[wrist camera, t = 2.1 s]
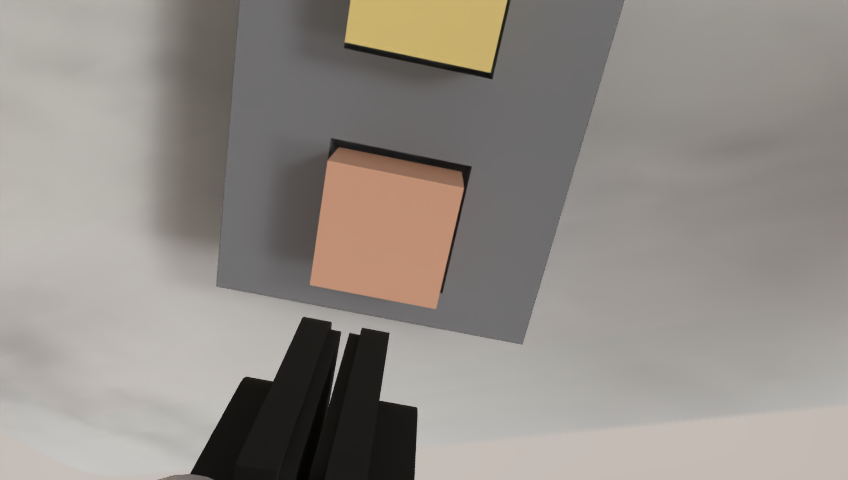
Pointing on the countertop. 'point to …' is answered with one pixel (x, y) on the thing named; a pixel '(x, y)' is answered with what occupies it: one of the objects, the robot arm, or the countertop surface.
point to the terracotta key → (385, 227)
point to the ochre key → (430, 29)
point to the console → (409, 149)
